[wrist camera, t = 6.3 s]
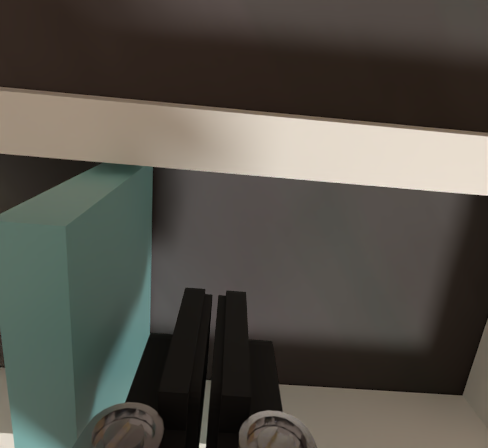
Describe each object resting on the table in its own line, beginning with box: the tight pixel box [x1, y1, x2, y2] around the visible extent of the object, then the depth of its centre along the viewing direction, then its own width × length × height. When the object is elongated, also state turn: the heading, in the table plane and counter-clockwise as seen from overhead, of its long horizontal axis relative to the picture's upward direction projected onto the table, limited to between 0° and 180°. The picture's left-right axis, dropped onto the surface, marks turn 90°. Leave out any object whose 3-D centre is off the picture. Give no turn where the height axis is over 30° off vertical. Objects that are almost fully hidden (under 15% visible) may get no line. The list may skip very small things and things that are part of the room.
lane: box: [0, 87, 488, 448], centre depth 12 cm, size 12×22×5 cm, turn 85°
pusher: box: [0, 162, 153, 448], centre depth 11 cm, size 8×5×7 cm, turn 175°
